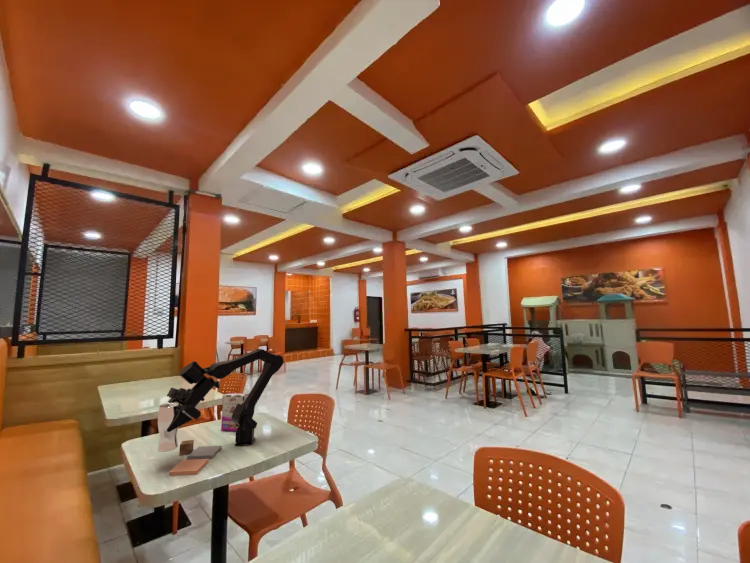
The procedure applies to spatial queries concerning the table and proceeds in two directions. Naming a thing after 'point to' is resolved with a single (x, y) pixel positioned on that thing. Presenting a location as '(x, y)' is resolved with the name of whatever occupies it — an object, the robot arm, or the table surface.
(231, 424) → the candy bar box
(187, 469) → the terracotta tile
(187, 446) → the walnut block
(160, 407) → the beer glass
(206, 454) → the slate tile
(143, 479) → the table surface
